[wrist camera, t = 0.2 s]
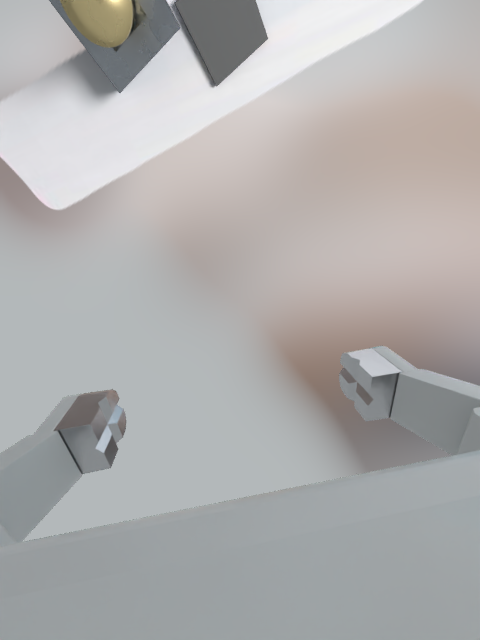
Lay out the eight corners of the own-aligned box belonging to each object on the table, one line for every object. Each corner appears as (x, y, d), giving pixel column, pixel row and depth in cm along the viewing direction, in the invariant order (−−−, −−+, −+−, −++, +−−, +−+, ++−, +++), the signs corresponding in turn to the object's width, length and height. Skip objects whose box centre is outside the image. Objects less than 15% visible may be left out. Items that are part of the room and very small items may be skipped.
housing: (43, -20, 31) (29, -26, 28) (105, -114, 27) (97, -133, 24) (124, 88, 40) (119, 93, 36) (179, 28, 36) (180, 27, 33)
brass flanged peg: (72, -10, 31) (36, -25, 22) (108, -60, 29) (82, -97, 20) (119, 56, 36) (103, 64, 27) (152, 18, 34) (146, 14, 25)
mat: (174, 3, 34) (175, 3, 34) (233, -63, 31) (234, -64, 31) (216, 85, 41) (216, 86, 41) (267, 38, 38) (268, 38, 38)
